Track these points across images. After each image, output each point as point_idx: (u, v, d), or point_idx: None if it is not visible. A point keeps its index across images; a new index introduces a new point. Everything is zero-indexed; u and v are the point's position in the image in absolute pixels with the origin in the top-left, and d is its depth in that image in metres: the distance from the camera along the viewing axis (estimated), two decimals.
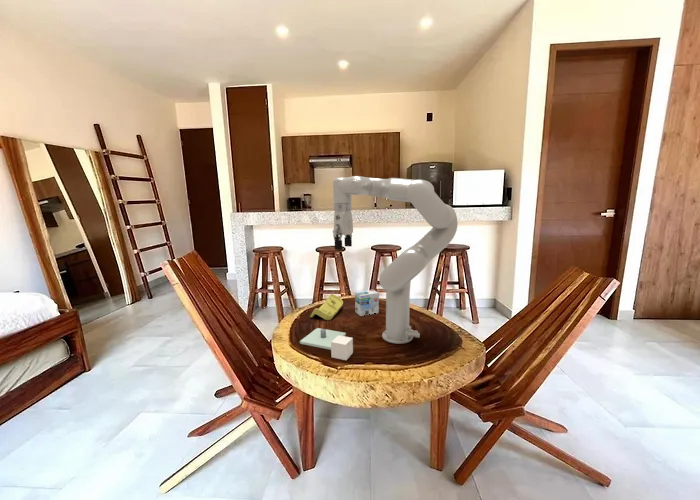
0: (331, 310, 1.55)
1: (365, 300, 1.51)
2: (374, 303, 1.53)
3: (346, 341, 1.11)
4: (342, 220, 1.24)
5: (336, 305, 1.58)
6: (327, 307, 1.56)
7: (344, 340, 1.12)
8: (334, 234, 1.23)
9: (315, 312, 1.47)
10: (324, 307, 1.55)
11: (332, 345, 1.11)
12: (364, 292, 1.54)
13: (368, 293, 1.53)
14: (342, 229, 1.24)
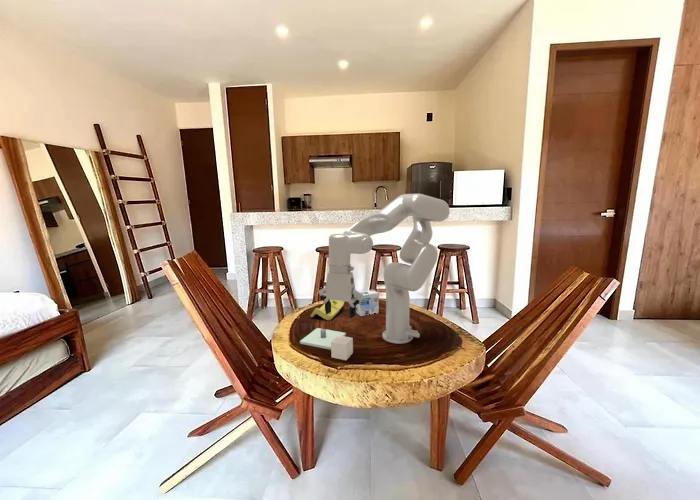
0: (332, 310, 1.55)
1: (365, 300, 1.51)
2: (374, 303, 1.53)
3: (346, 341, 1.11)
4: None
5: (337, 305, 1.58)
6: None
7: (344, 340, 1.12)
8: (360, 300, 1.06)
9: (315, 312, 1.48)
10: None
11: (332, 345, 1.11)
12: (364, 292, 1.54)
13: (368, 293, 1.53)
14: None
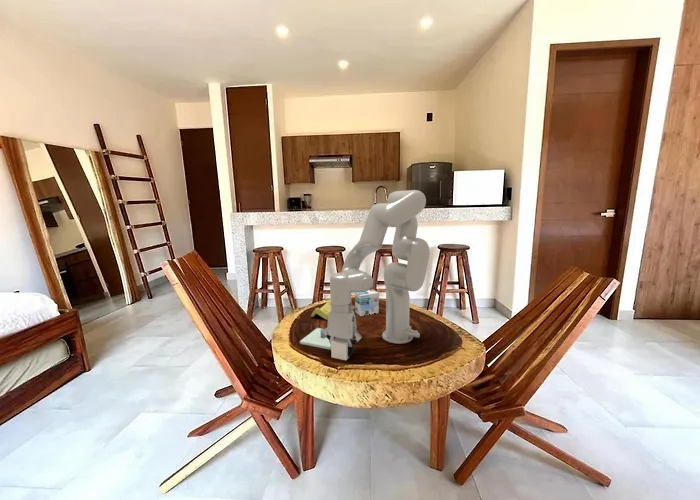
0: None
1: (365, 300, 1.51)
2: (374, 303, 1.53)
3: (346, 341, 1.11)
4: (355, 320, 1.11)
5: None
6: (329, 307, 1.56)
7: (344, 340, 1.12)
8: (358, 340, 1.10)
9: (316, 312, 1.48)
10: (326, 307, 1.55)
11: (332, 345, 1.11)
12: (364, 292, 1.54)
13: (368, 293, 1.53)
14: (356, 329, 1.12)
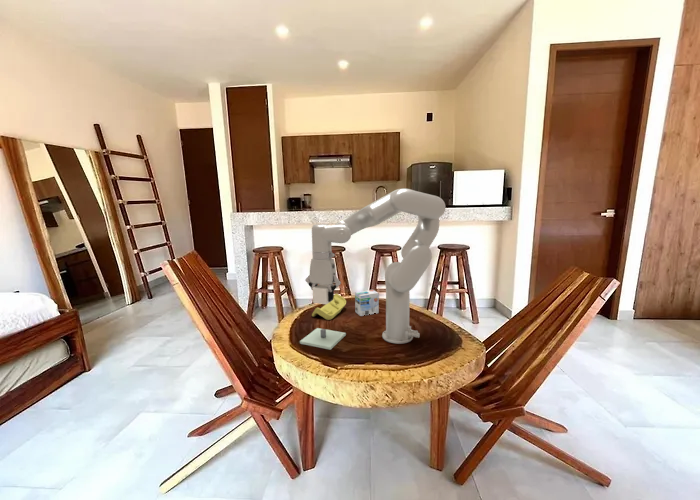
0: (333, 310, 1.55)
1: (365, 300, 1.51)
2: (374, 303, 1.53)
3: (326, 287, 1.20)
4: (335, 267, 1.20)
5: (339, 305, 1.58)
6: (329, 307, 1.56)
7: (325, 287, 1.21)
8: (337, 286, 1.19)
9: (316, 311, 1.48)
10: (326, 307, 1.55)
11: (313, 291, 1.20)
12: (364, 292, 1.54)
13: (368, 293, 1.53)
14: None
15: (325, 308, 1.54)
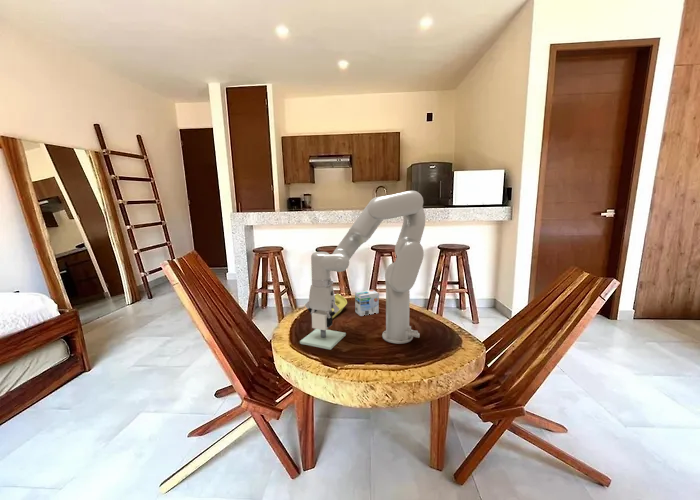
0: None
1: (365, 300, 1.51)
2: (374, 303, 1.53)
3: (325, 313, 1.24)
4: None
5: (340, 305, 1.58)
6: None
7: (324, 312, 1.24)
8: (336, 312, 1.22)
9: None
10: None
11: (313, 317, 1.23)
12: (364, 292, 1.54)
13: (368, 293, 1.53)
14: (334, 303, 1.24)
15: None
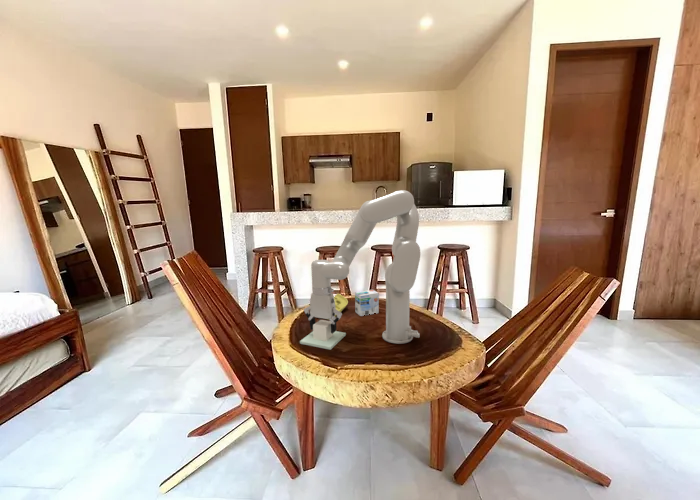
0: None
1: (365, 300, 1.51)
2: (374, 303, 1.53)
3: (326, 324, 1.24)
4: (334, 302, 1.24)
5: (340, 305, 1.58)
6: None
7: (325, 323, 1.25)
8: (340, 317, 1.22)
9: None
10: None
11: (314, 328, 1.24)
12: (364, 292, 1.54)
13: (368, 293, 1.53)
14: None
15: None
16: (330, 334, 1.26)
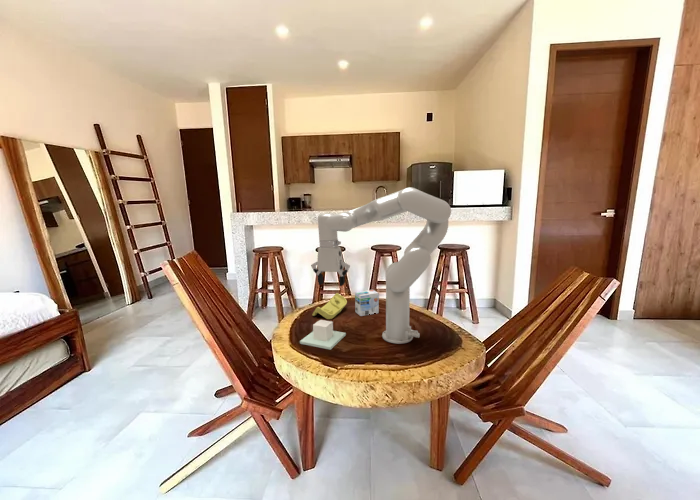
0: (334, 309, 1.56)
1: (365, 300, 1.51)
2: (374, 303, 1.53)
3: (326, 324, 1.24)
4: None
5: (339, 304, 1.59)
6: (330, 306, 1.57)
7: (325, 323, 1.25)
8: (348, 269, 1.23)
9: (317, 311, 1.49)
10: (327, 306, 1.56)
11: (314, 328, 1.24)
12: (364, 292, 1.54)
13: (368, 293, 1.53)
14: None
15: (326, 307, 1.55)
16: (330, 334, 1.26)
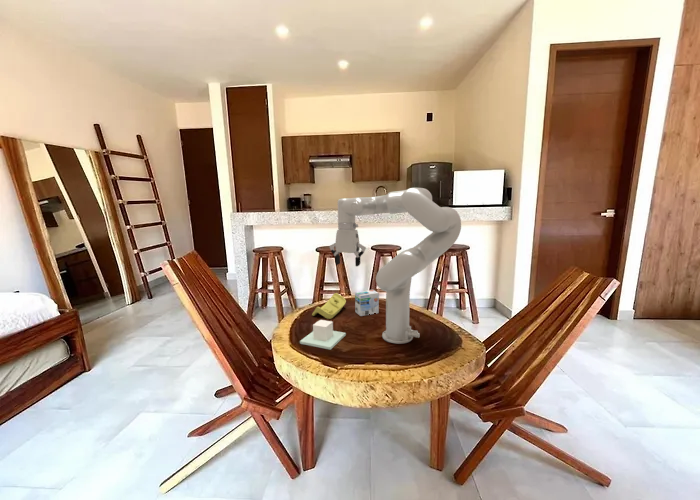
0: (333, 309, 1.56)
1: (365, 300, 1.51)
2: (374, 303, 1.53)
3: (326, 324, 1.24)
4: (358, 237, 1.34)
5: (339, 304, 1.59)
6: (329, 306, 1.57)
7: (325, 323, 1.25)
8: None
9: (317, 310, 1.49)
10: (326, 306, 1.56)
11: (314, 328, 1.24)
12: (364, 292, 1.54)
13: (368, 293, 1.53)
14: None
15: (325, 307, 1.55)
16: (330, 334, 1.26)
